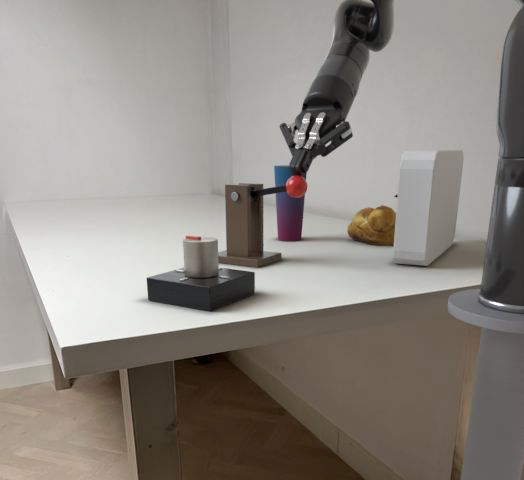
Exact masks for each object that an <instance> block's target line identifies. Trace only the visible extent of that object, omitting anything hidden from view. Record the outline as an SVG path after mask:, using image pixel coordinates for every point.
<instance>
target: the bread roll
mask: <svg viewBox="0 0 524 480" xmlns="http://www.w3.org/2000/svg"><path fill="white" fill-rule="evenodd" d="M395 223H396V211H395V210H394V209H393V208H392V207H389V206H387V205H384V204H382V205H380V206H377V207H375V208H374V207H368V206H367V207H364V208H362V209H360V210H358V211H357V212H356V213H355V215H354V216H353V217H352V220H351V222H350V223H348V225H347V229H346V230H347V235H348V236H349V238H350V239H352V240H355V241H359V242H364V243H365V244H368V245H373V246H374V245H376V246H388V245H394V235H395Z"/></svg>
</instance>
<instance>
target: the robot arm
mask: <svg viewBox="0 0 524 480" xmlns="http://www.w3.org/2000/svg"><path fill="white" fill-rule="evenodd" d="M514 1H515V2H516V3H517V5H518V6H519V7H520V8H519V10H518V11H517V12H516V14H515V15H514V17H513V19H512V21H511V22H510V25H509V27H508V29H507V32H506V35H505V38H504V43H503V46H502V52H501V58H500V66H499V76H498V88H497V100H496V112H495V130H496V136H497V138H498V144H499V147H498V148H499V149H498V156H497V157H498V159H497V164H496V171H495V179H494V187H493V194H492V201H491V209H490V215H489V223H488V230H487V236H486V237H487V238H486V245H485V250H484V251H485V252H484V260H483V265H482V266H483V267H482V273H481V275H482V276H481V281H480V285H479V289H480V292H479V296H478V302H479V303H480V304H482V305H484V306H486V307H488V308H491V309H495V310H499V311H504V312H510V313H517V314H524V0H514ZM333 18H334V20H333V27H332V28H333V29H332V41H331V45H330V47H329V49H328V52H327V53H326V56H325V58H324V60H323V62H322V65H320V67H319V69H318V70H317V72H316V74H315V76H314V78H313V80H312V83H311V84H310V86H309V88H308V91H307V93H306V95H305V97H304V99H303V102H302V108H301V111H300V112H299V114H298V115H297V116H296V117H295V119H294V121H293V122H291V123H289V124H287V123H286V122H281V124H279V130H280V132H281V134H282V136H283V138H284V140H285V143H286V145H287V147H288V149H289V152H290V155H291V159H290V160H289V164H288V165H289V167H290V169H291V171H292V173H293V175H294V176H295V175H299V176H304V173H306V172H307V173H308V171H309V170H310V168H311V166H312V164H313V161H314V160H315V159H316V158H317V157H318V156H320V157H322V158H325V157H327V156H328V155H329V154H331V153H332V152H334V151H335V150H336V149H338V148H340V147H341V146H343V145H344V144H345V143H346V142H348V141H349V140H351V138H353V137H354V134H353V130H352V127H351V124H350V122H349V121H347V120H346V119H347V117H348V115H349V113H350V110H351V108H352V106H353V103H354V102H355V99H356V97H357V94H358V92H359V89H360V85H361V81H362V79H363V76H364V74H365V72H366V70H367V68H368V65H369V62H370V57H371V55H370V53H371V52H372V53H379V52H381V51H383V50H384V49H385V48H386V47H387V46H388V44H389V43H390V41H391V40H392V36H393V33H394V27H395V0H370V1H367V0H343V1H341V2H340V3H339V5H338V7H337V8H336V11H335V14H334V17H333ZM297 132H298V133H297ZM296 133H297V137H298V138H297V141H296V142H295V140H294V139H296ZM327 144H328V145H327Z"/></svg>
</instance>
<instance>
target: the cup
mask: <svg viewBox="0 0 524 480" xmlns="http://www.w3.org/2000/svg"><path fill="white" fill-rule="evenodd" d="M273 170H274V171H273V172H274V187H277V186H283V185H286V183H287V181H288V179H289V178H291V177H292V176H294V175H293V173H292V171H291V169H290V167H289V164H285V165H283V164H280V165H274V166H273ZM307 175H308V171H307V172H306V173H304V176H302V177H303V178H304V179H305V180H306V181H307ZM305 197H306V193H305V194H304V195H303V196H302V197H299V198H294V197H291V196H290V195H289V194H288V193H287V192H281V193H275V210H276V211H275V212H276V228H277V240H278V241H282V242H297V241H301V240H302V235H303V223H304V222H303V221H304V209H305Z"/></svg>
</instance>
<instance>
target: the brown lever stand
mask: <svg viewBox="0 0 524 480" xmlns="http://www.w3.org/2000/svg"><path fill="white" fill-rule="evenodd" d="M252 186H254V190H260V189H264V183H254V182H253V183H252V182H239V183H238V184H235V183H233V184H232V183H227V184H224V197H225V199H224V201H225V239H226V243H225V244H226V245H225V246H226V249H225V250H221V251H218V264H226V265H233V266H243V267H250V268H251V267H252V268H260V267H263V266H267V265H270V264H272V263H275V262H278V261H281V260H282V256H283V255H282V252H276V251H268V250H264V195H263V196H257V197H255V198H256V201H253V202H251V187H252Z"/></svg>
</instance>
